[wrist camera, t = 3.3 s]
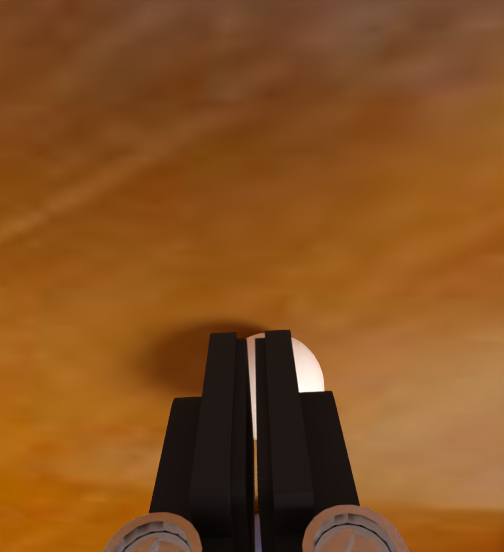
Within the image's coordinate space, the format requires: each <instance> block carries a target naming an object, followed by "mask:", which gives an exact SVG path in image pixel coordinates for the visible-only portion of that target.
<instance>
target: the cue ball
mask: <svg viewBox="0 0 504 552" xmlns="http://www.w3.org/2000/svg"><path fill="white" fill-rule="evenodd" d="M255 338H265V333H260V334H256V335H253V336H250V337H248V338H246V339H247V348H248V362H249V377H250V391H251V406H252V420H253V435H254V439H255V440H257V429H256V376H255ZM291 339H292V346H293V353H294V360H295V367H296V374H297V381H298V388H299V392H316V391H324V379H323V375H322V371H321V368H320V365H319V363H318V361H317V360H316V358H315V356H314V355H313V354H312V352H311V351H310V350H309V349H308V348H307V347H306V346H305V345H304V344H303V343H301V342H300V341H298V340H297V339H295V338H293V337H291Z"/></svg>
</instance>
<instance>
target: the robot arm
mask: <svg viewBox="0 0 504 552" xmlns="http://www.w3.org/2000/svg"><path fill="white" fill-rule="evenodd" d="M255 376H256V429H257V480H258V504H259V519H260V534H261V548H262V552H409V551H408V549H407V547H406V545H405V543H404V540H403V539H402V537H401V536H400V534H399V533H398V531H397V530H396V528H395V527H394V526H393V525H392V524H391V523H390V522H389V521H388V520H386V519H385V518H384V517H383V516H382V515H380V514H378V513H376V512H374V511H372V510H370V509H368V508H365V507H361V506H360V504H359V500H358V496H357V491H356V487H355V483H354V479H353V475H352V470H351V466H350V462H349V458H348V454H347V450H346V445H345V441H344V437H343V433H342V429H341V425H340V420H339V416H338V412H337V408H336V404H335V399H334V396H333V393H332V391H316V392H299V388H298V381H297V374H296V367H295V360H294V353H293V346H292V339H291V332H290V330H274V331H265V338H255ZM103 552H255V485H254V435H253V420H252V406H251V391H250V377H249V362H248V348H247V339H237V333H236V332H232V333H211V334H210V340H209V348H208V355H207V363H206V370H205V378H204V385H203V393H202V397H183V398H175V399H174V400H173V403H172V407H171V412H170V416H169V421H168V426H167V430H166V435H165V440H164V444H163V449H162V454H161V459H160V463H159V468H158V473H157V477H156V482H155V487H154V491H153V496H152V501H151V505H150V510H149V514H147V515H143V516H140V517H137V518H135V519H134V520H132V521H131V522H129V523H127V524H126V525H124V526H123V527H122V528H121V529H120V530H119V531H118V532H117V533H116V534H115V535H114V536H113V537H112V538H111V539H110V541H109V542H108V544H107V546H106V547H105V549H104V551H103Z"/></svg>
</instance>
